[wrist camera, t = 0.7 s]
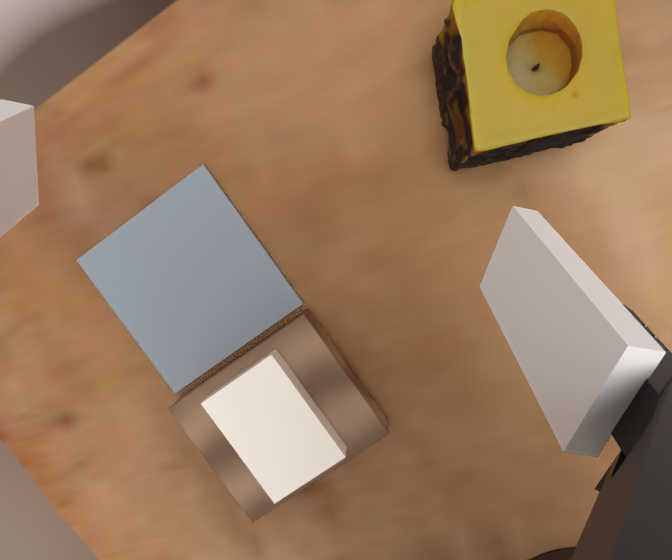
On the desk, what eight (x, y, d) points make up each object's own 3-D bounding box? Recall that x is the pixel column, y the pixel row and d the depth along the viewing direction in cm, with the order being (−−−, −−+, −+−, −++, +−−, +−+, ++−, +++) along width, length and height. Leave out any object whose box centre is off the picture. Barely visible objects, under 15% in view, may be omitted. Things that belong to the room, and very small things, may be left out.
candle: (449, 172, 44) (471, 158, 34) (427, 48, 43) (445, -4, 33) (574, 147, 43) (635, 125, 33) (555, 20, 42) (612, -42, 32)
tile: (346, 446, 44) (345, 457, 42) (278, 491, 45) (274, 503, 43) (275, 348, 43) (271, 354, 42) (208, 395, 44) (200, 403, 42)
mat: (303, 302, 46) (303, 303, 45) (176, 391, 48) (174, 393, 47) (205, 164, 45) (203, 164, 45) (79, 259, 47) (76, 260, 46)
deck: (387, 420, 47) (388, 433, 44) (259, 504, 48) (252, 522, 45) (307, 308, 46) (303, 314, 43) (180, 397, 48) (168, 408, 45)
